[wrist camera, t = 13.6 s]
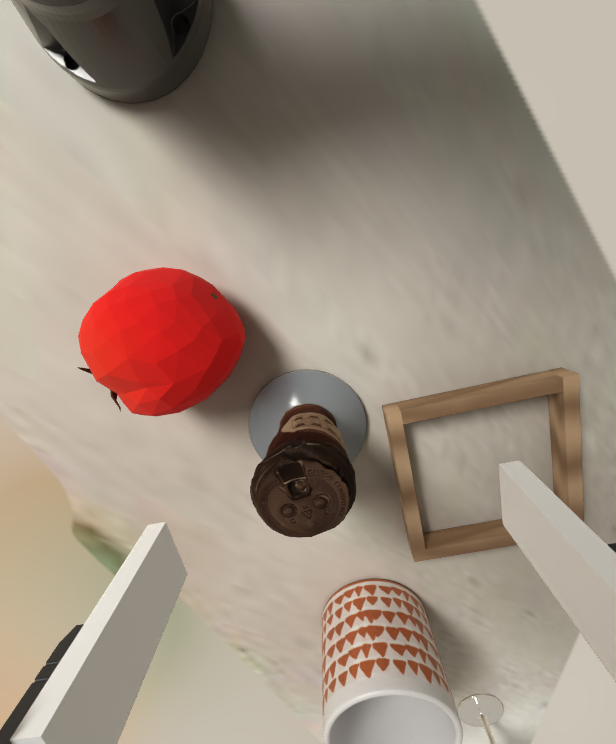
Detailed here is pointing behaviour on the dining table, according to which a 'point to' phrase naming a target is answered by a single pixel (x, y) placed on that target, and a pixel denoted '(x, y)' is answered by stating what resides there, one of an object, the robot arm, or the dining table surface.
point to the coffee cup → (304, 475)
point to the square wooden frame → (552, 383)
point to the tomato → (161, 340)
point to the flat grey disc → (307, 391)
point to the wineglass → (481, 712)
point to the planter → (383, 670)
